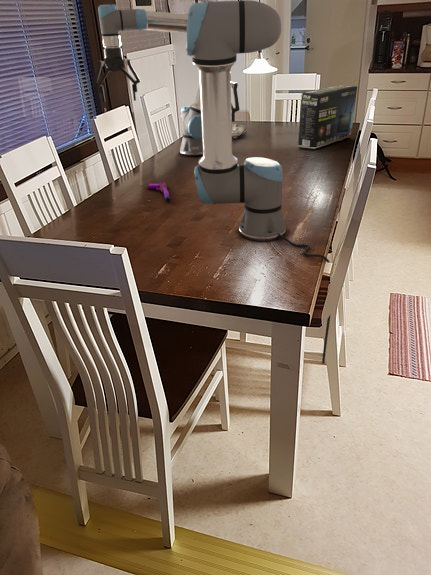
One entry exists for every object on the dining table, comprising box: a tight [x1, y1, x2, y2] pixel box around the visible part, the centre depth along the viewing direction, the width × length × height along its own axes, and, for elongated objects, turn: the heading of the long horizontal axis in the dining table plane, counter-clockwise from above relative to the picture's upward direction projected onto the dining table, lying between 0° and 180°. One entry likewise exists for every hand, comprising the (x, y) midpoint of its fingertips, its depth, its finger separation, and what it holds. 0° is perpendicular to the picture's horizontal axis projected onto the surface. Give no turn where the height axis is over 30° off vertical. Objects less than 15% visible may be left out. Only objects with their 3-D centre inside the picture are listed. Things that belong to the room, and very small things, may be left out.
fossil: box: [232, 122, 247, 140], centre depth 265 cm, size 18×11×15 cm
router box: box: [297, 84, 358, 151], centre depth 238 cm, size 36×11×27 cm, turn 134°
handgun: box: [147, 182, 171, 203], centre depth 184 cm, size 21×8×2 cm, turn 11°
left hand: (119, 101), depth 204 cm, fingers open, 13 cm apart
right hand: (220, 131), depth 176 cm, fingers closed on action figure, 7 cm apart
